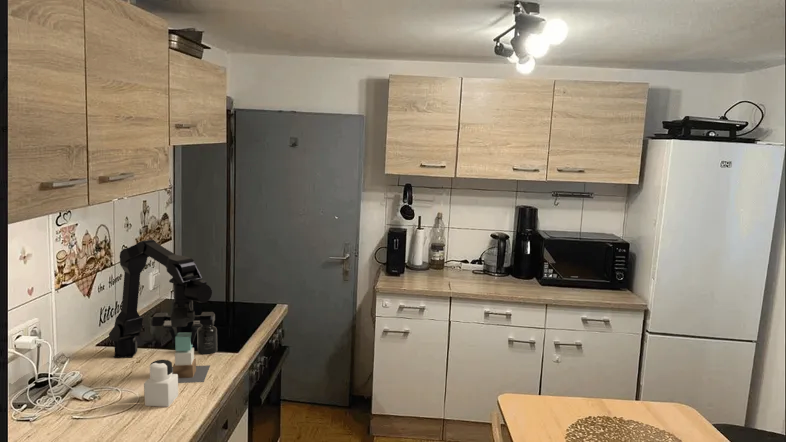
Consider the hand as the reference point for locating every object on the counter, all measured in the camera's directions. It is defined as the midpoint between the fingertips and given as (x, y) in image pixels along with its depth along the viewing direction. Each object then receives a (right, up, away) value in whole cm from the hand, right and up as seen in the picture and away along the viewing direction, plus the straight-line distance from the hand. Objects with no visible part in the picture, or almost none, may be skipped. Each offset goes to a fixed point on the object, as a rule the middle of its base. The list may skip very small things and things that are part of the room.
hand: (184, 344), depth 187 cm
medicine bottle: (0, -13, -18) cm, 22 cm away
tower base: (0, -10, +1) cm, 10 cm away
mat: (0, -10, +1) cm, 10 cm away
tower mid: (0, -6, +1) cm, 6 cm away
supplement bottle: (0, -8, +23) cm, 24 cm away
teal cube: (0, -1, 0) cm, 1 cm away
